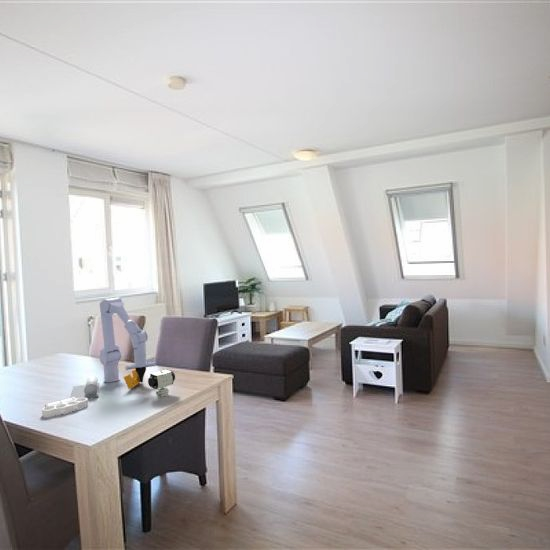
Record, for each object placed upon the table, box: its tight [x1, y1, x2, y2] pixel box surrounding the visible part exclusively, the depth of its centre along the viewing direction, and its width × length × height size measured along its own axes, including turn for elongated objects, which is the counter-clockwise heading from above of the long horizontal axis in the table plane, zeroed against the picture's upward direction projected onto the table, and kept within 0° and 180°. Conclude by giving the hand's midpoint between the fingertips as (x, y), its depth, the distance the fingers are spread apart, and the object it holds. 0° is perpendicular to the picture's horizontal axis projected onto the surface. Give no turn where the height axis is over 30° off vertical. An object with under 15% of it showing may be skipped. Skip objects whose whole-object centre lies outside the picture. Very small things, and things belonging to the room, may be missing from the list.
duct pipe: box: [69, 375, 100, 400], centre depth 196 cm, size 22×12×6 cm, turn 22°
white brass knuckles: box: [41, 397, 89, 418], centre depth 175 cm, size 3×18×15 cm
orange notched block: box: [123, 369, 140, 390], centre depth 204 cm, size 12×4×6 cm, turn 177°
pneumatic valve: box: [147, 369, 176, 398], centre depth 187 cm, size 6×12×12 cm, turn 138°
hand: (141, 382), depth 206 cm, fingers closed
